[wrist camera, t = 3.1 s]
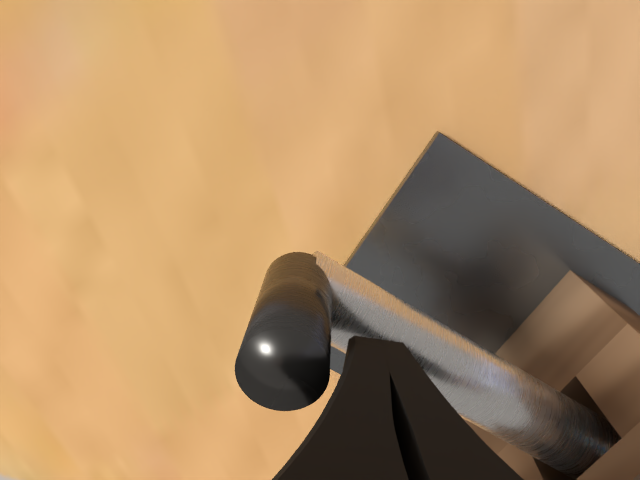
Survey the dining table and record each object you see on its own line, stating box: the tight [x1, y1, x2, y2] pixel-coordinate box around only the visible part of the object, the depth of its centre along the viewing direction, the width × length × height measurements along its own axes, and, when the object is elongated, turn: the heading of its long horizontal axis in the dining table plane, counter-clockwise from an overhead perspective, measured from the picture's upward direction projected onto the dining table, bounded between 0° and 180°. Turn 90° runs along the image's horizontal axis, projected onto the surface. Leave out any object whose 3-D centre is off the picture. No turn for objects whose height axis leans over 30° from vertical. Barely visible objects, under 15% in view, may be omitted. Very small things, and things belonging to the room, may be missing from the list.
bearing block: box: [463, 270, 640, 480], centre depth 16 cm, size 3×7×7 cm, turn 148°
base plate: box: [330, 131, 640, 374], centre depth 19 cm, size 16×10×1 cm, turn 59°
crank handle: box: [235, 251, 621, 480], centre depth 12 cm, size 13×2×5 cm, turn 59°
